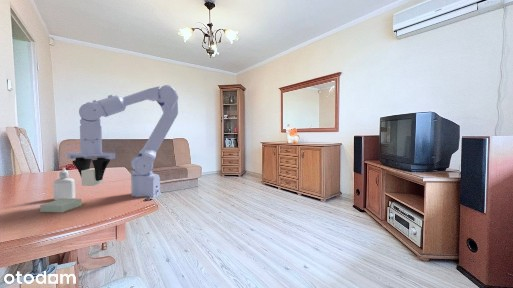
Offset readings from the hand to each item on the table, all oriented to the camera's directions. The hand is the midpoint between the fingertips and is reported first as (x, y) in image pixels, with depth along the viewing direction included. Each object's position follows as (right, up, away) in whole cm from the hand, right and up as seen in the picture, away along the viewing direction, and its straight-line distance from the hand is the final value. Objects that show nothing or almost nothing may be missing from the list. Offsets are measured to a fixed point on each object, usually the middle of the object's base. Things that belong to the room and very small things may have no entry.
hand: (92, 180), depth 72 cm
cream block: (0, -1, 0) cm, 1 cm away
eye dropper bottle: (-12, -8, +3) cm, 15 cm away
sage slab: (-4, -7, -7) cm, 11 cm away
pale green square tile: (-4, -9, -7) cm, 12 cm away
